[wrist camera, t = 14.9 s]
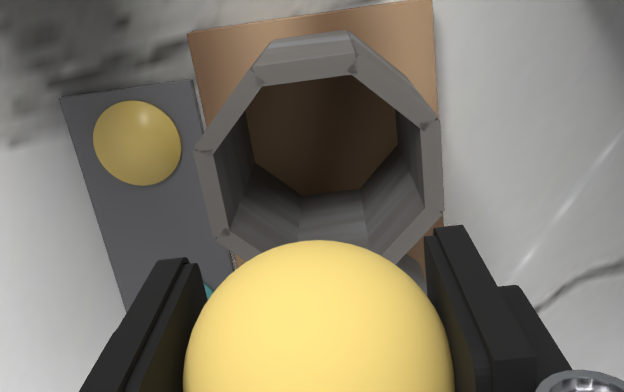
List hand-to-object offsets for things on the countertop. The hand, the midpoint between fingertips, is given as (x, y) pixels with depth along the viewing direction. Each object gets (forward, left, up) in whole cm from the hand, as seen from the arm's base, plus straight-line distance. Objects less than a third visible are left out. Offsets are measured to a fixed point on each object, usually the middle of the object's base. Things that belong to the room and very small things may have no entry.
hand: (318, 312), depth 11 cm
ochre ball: (0, 0, -1) cm, 1 cm away
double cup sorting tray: (0, +4, -15) cm, 16 cm away
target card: (+8, +4, -15) cm, 18 cm away
